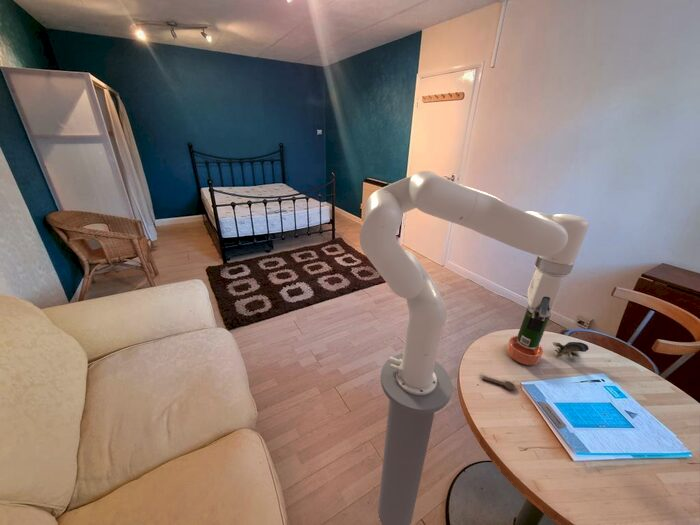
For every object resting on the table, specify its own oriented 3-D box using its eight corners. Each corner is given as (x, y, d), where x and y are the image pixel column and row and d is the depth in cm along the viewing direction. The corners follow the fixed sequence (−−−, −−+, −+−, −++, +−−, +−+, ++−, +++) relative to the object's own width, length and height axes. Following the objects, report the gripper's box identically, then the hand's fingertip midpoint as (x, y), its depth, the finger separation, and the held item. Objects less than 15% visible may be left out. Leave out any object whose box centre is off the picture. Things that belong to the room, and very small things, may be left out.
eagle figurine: (573, 366, 92) (593, 355, 95) (565, 345, 93) (585, 335, 95) (552, 361, 100) (571, 351, 102) (545, 342, 100) (564, 332, 102)
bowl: (506, 360, 96) (509, 350, 94) (506, 342, 104) (509, 332, 102) (540, 370, 92) (544, 360, 90) (537, 350, 100) (541, 341, 98)
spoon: (482, 381, 88) (482, 379, 88) (482, 374, 90) (483, 373, 90) (514, 392, 84) (515, 390, 84) (514, 385, 87) (514, 383, 87)
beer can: (535, 352, 77) (549, 316, 72) (513, 343, 80) (526, 308, 75) (539, 343, 80) (553, 308, 75) (518, 334, 84) (531, 300, 78)
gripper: (533, 249, 78) (516, 304, 86) (538, 275, 64) (517, 337, 72) (566, 255, 75) (544, 311, 83) (578, 283, 61) (551, 347, 69)
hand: (532, 322), depth 77 cm, fingers closed on beer can, 5 cm apart
